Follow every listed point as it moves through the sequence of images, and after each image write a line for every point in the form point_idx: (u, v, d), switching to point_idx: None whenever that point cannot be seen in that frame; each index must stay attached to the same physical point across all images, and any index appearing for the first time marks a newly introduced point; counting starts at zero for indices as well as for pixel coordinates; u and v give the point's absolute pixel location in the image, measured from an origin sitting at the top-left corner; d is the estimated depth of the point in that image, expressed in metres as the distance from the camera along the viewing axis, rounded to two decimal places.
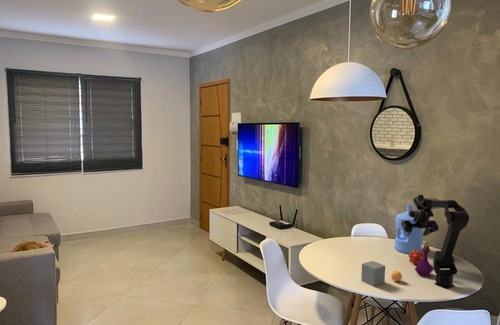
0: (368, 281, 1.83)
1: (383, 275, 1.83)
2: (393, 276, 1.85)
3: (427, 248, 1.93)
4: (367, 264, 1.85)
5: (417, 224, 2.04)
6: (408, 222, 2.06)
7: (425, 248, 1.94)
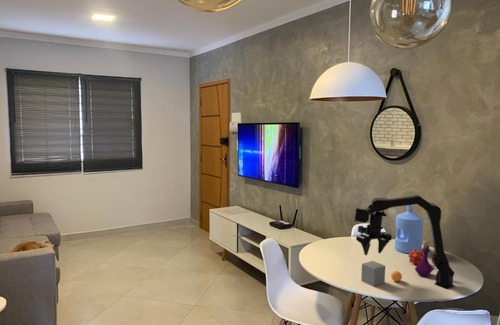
0: (368, 281, 1.83)
1: (383, 275, 1.83)
2: (393, 276, 1.85)
3: (427, 248, 1.93)
4: (367, 264, 1.85)
5: (372, 234, 1.85)
6: (363, 235, 1.85)
7: (425, 248, 1.94)
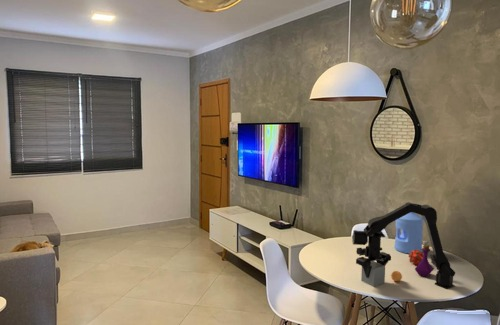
0: (368, 281, 1.83)
1: (383, 275, 1.83)
2: (393, 276, 1.85)
3: (427, 248, 1.93)
4: None
5: (372, 256, 1.82)
6: (363, 257, 1.82)
7: (425, 248, 1.94)
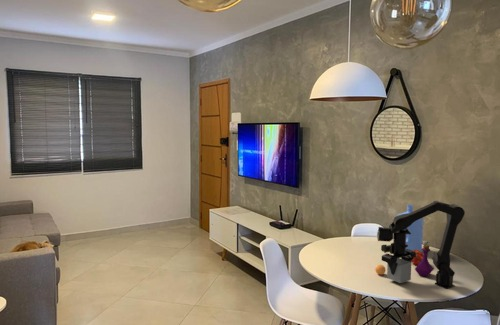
0: (395, 278, 1.83)
1: (409, 272, 1.83)
2: (377, 271, 1.94)
3: (427, 248, 1.93)
4: None
5: (397, 253, 1.82)
6: (388, 254, 1.82)
7: (425, 248, 1.94)
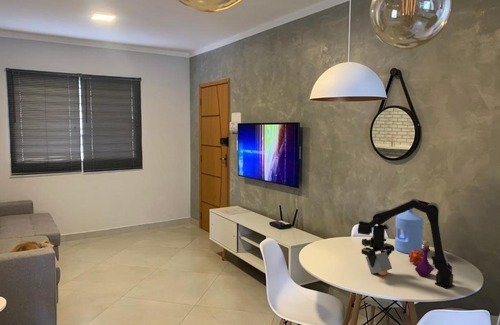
0: (376, 269, 1.92)
1: (388, 260, 1.94)
2: None
3: (427, 248, 1.93)
4: None
5: (376, 246, 1.93)
6: (368, 248, 1.93)
7: (425, 248, 1.94)
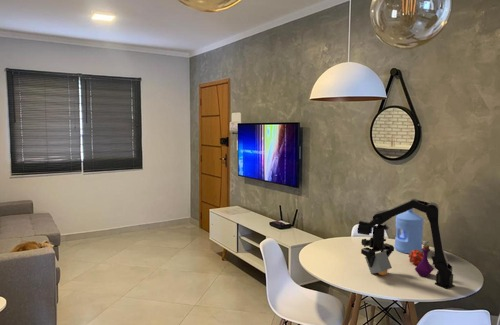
0: (376, 269, 1.92)
1: (387, 260, 1.94)
2: None
3: (427, 248, 1.93)
4: None
5: (376, 247, 1.93)
6: (367, 248, 1.93)
7: (425, 248, 1.94)
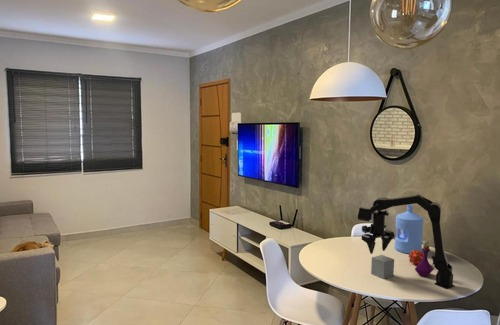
0: (378, 274, 1.92)
1: (392, 268, 1.92)
2: None
3: (427, 248, 1.93)
4: (377, 258, 1.94)
5: (376, 233, 1.93)
6: (368, 234, 1.92)
7: (425, 248, 1.94)
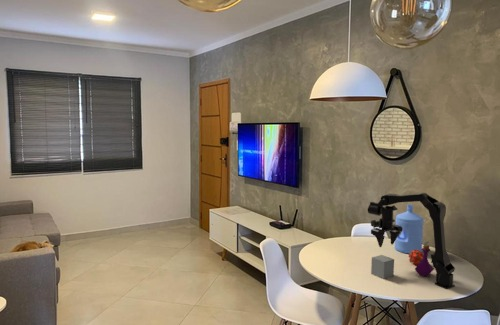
0: (378, 274, 1.92)
1: (392, 268, 1.92)
2: None
3: (427, 248, 1.93)
4: (377, 258, 1.94)
5: (385, 227, 2.00)
6: (377, 228, 2.00)
7: (425, 248, 1.94)
